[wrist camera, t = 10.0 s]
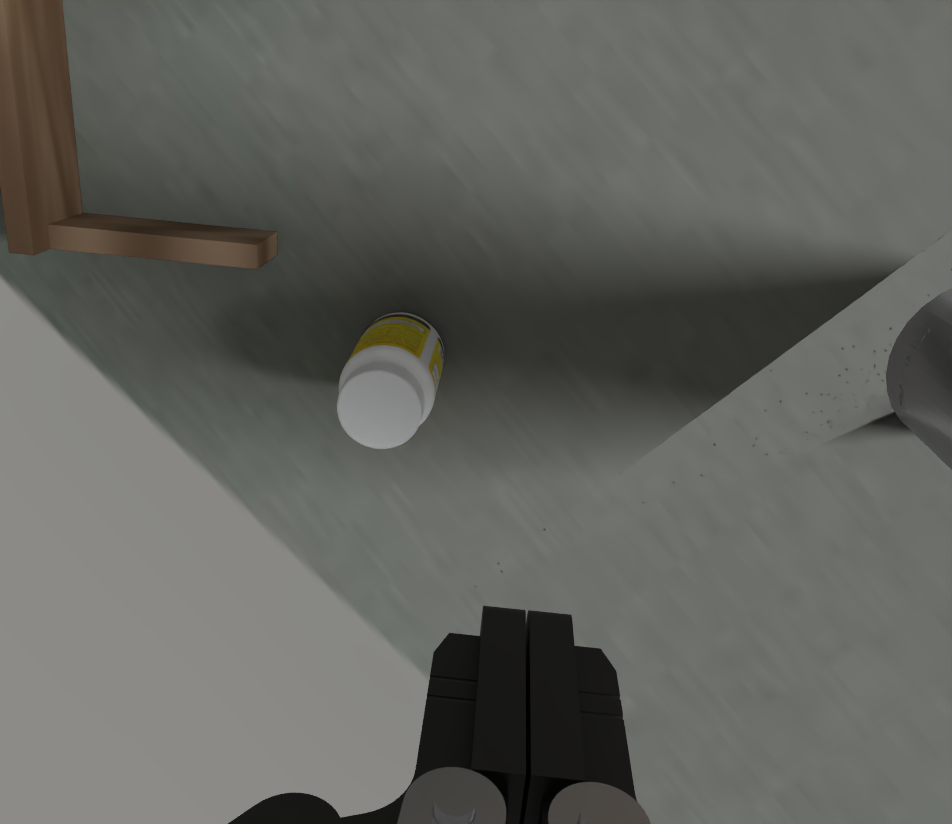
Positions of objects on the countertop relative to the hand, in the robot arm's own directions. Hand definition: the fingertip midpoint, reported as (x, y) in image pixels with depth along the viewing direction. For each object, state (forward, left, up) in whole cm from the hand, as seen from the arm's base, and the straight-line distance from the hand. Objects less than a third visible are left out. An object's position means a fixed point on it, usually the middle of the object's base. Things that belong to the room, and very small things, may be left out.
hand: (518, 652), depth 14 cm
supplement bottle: (+6, +6, -32) cm, 33 cm away
